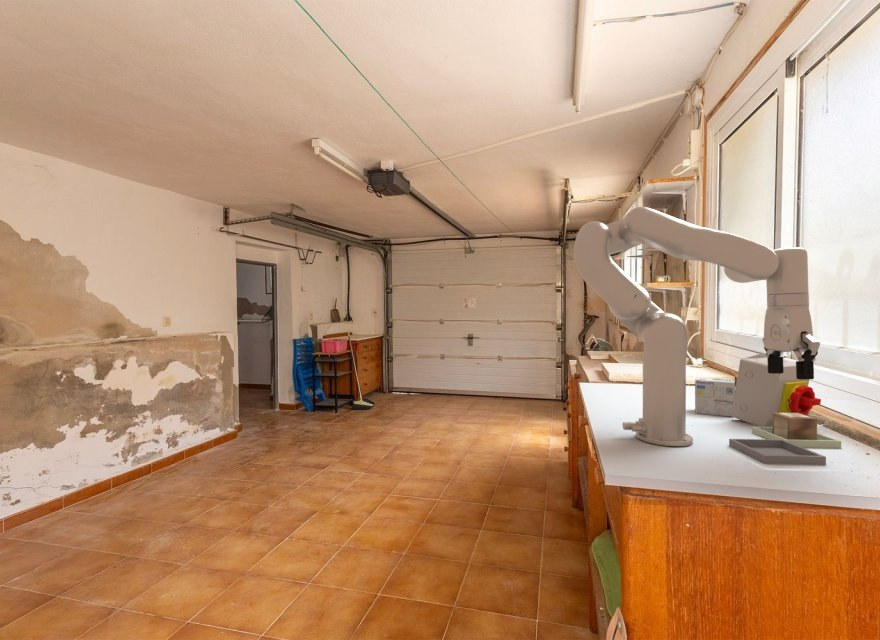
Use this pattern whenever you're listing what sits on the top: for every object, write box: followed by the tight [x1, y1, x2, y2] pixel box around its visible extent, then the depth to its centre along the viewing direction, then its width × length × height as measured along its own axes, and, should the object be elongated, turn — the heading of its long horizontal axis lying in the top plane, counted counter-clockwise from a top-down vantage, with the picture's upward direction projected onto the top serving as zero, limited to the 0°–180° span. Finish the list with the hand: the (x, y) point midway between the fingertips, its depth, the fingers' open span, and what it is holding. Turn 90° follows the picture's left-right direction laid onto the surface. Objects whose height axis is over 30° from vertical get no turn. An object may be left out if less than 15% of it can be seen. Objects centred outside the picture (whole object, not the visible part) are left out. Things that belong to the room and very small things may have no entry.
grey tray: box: [728, 438, 827, 466], centre depth 94 cm, size 12×12×2 cm
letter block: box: [772, 413, 818, 440], centre depth 105 cm, size 6×6×6 cm
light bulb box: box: [694, 377, 736, 418], centre depth 135 cm, size 11×7×11 cm, turn 58°
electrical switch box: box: [731, 353, 822, 427], centre depth 119 cm, size 15×15×20 cm
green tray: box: [751, 426, 842, 449], centre depth 105 cm, size 12×12×2 cm
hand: (789, 376), depth 99 cm, fingers open, 9 cm apart
